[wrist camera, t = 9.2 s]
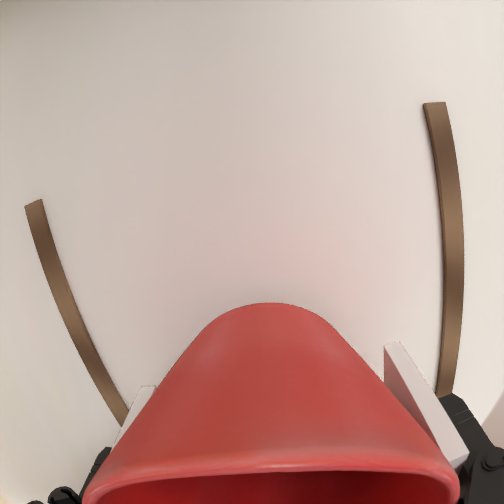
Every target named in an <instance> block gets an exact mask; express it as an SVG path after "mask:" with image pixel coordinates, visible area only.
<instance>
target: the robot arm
mask: <svg viewBox="0 0 504 504" xmlns="http://www.w3.org/2000/svg"><path fill="white" fill-rule="evenodd" d="M384 384H385V385H386V386H387V388H388V389H389V390H390V391H391V392H392V393H393V395H394V396H395V397H396V398H397V399H398V400H399V402H400V403H401V404H402V405H403V406H404V407H405V408H406V410H407V411H408V412H409V413H410V414H411V415H412V416H413V417H414V419H415V420H416V421H417V422H418V423H419V425H420V426H421V427H422V428H423V429H424V431H425V432H426V433H427V434H428V436H429V437H430V438H431V439H432V441H433V442H434V443H435V444H436V446H437V447H438V448H439V449H440V451H441V452H442V453H443V455H444V456H445V457H446V459H447V460H448V461H449V463H450V464H451V466H452V467H453V469H454V470H455V472H456V474H457V476H458V479H459V484H460V496H459V500H458V503H457V504H504V449H502V448H500V447H495V446H494V445H493V444H492V443H491V441H490V440H489V439H488V437H487V435H486V434H485V432H484V431H483V429H482V428H481V426H480V424H479V423H478V421H477V420H476V418H474V415H473V414H472V413H471V411H470V410H469V408H468V407H467V405H466V404H465V402H464V401H463V399H461V398H460V397H458V396H456V395H455V394H453V393H451V394H448V395H446V396H444V397H441V398H438V399H437V397H436V395H435V394H434V392H433V391H432V389H431V387H430V386H429V384H428V383H427V381H426V380H425V378H424V376H423V375H422V373H421V372H420V370H419V369H418V367H417V366H416V364H415V363H414V361H413V360H412V358H411V357H410V355H409V354H408V352H407V351H406V349H405V348H404V346H403V345H402V343H401V342H400V341H397V342H394V343H390V344H387V345H384ZM156 389H157V388H156V386H144V387H141V388H140V391H139V393H138V395H137V397H136V399H135V401H134V403H133V405H132V407H131V409H130V411H129V413H128V415H127V417H126V420H125V422H124V424H123V426H122V428H121V430H120V432H119V434H118V437H117V439H116V441H115V443H114V445H113V447H105V448H104V449H103V450H102V451H101V452H100V453H99V455H98V456H97V458H96V460H95V462H94V466H93V467H92V469H91V473H89V475H88V477H87V479H86V481H85V483H84V486H83V488H82V490H81V492H80V494H79V496H78V495H77V494H76V493H75V492H74V491H73V490H72V489H71V488H69V487H66V486H64V487H59V488H56V489H55V490H53V491H52V492H51V493H50V495H49V497H48V503H49V504H82V499H83V495H84V492H85V490H86V488H87V486H88V485H89V483H90V482H91V480H92V479H93V477H94V476H95V474H96V472H97V471H98V469H99V468H100V466H101V465H102V464H103V462H104V461H105V459H106V458H107V457H108V455H109V454H110V453H111V451H112V450H113V448H114V447H115V446H116V444H117V443H118V441H119V440H120V439H121V437H122V436H123V435H124V433H125V432H126V430H127V429H128V428H129V426H130V425H131V424H132V422H133V421H134V419H135V418H136V417H137V415H138V414H139V412H140V411H141V410H142V408H143V407H144V406H145V404H146V403H147V401H148V400H149V399H150V397H151V396H152V395H153V393H154V392H155V390H156ZM28 504H43V503H42V502H41V501H37V500H36V501H31V502H29V503H28Z"/></svg>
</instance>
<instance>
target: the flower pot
mask: <svg viewBox="0 0 504 504" xmlns="http://www.w3.org/2000/svg"><path fill="white" fill-rule="evenodd" d="M459 496H460V484H459V479H458V476H457V474H456V472H455V470H454V469H453V467H452V466H451V464H450V463H449V461H448V460H447V459H446V457H445V456H444V455H443V453H442V452H441V451H440V449H439V448H438V447H437V446H436V444H435V443H434V442H433V441H432V439H431V438H430V437H429V436H428V434H427V433H426V432H425V431H424V429H423V428H422V427H421V426H420V425H419V423H418V422H417V421H416V420H415V419H414V417H413V416H412V415H411V414H410V413H409V412H408V411H407V410H406V408H405V407H404V406H403V405H402V404H401V403H400V402H399V400H398V399H397V398H396V397H395V396H394V395H393V393H392V392H391V391H390V390H389V389H388V388H387V386H386V385H385V384H384V383H383V382H382V381H381V379H380V378H379V377H378V376H377V375H376V374H375V373H374V371H373V370H372V369H371V368H370V367H369V366H368V364H367V363H366V362H365V361H364V360H363V359H362V358H361V357H360V356H359V355H358V353H357V352H356V351H355V350H354V349H353V348H352V347H351V346H350V345H349V344H348V343H347V342H346V341H345V339H344V338H343V337H342V336H341V335H340V334H339V333H338V332H337V331H336V330H335V329H334V328H333V327H332V326H331V325H330V324H329V323H328V322H327V321H326V320H324V319H323V318H321V317H320V316H318V315H317V314H315V313H313V312H311V311H308V310H306V309H303V308H301V307H297V306H294V305H289V304H283V303H258V304H251V305H246V306H243V307H240V308H236V309H233V310H231V311H229V312H227V313H224V314H222V315H221V316H219V317H217V318H216V319H215V320H213V321H212V322H211V323H210V324H208V325H207V326H206V327H205V328H204V329H203V330H202V331H201V332H200V334H199V335H198V336H197V337H196V338H195V340H194V341H193V342H192V343H191V344H190V346H189V347H188V348H187V349H186V350H185V352H184V353H183V354H182V355H181V357H180V358H179V359H178V361H177V362H176V363H175V364H174V366H173V367H172V368H171V370H170V371H169V372H168V374H167V375H166V377H165V378H164V379H163V381H162V382H161V383H160V385H159V386H158V388H157V389H156V390H155V392H154V393H153V395H152V396H151V397H150V399H149V400H148V401H147V403H146V404H145V406H144V407H143V408H142V410H141V411H140V412H139V414H138V415H137V417H136V418H135V419H134V421H133V422H132V424H131V425H130V426H129V428H128V429H127V430H126V432H125V433H124V435H123V436H122V437H121V439H120V440H119V441H118V443H117V444H116V446H115V447H114V448H113V450H112V451H111V453H110V454H109V455H108V457H107V458H106V459H105V461H104V462H103V464H102V465H101V466H100V468H99V469H98V471H97V472H96V474H95V476H94V477H93V479H92V480H91V482H90V483H89V485H88V486H87V488H86V490H85V492H84V495H83V499H82V504H457V503H458V500H459Z"/></svg>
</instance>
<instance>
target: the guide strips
mask: <svg viewBox="0 0 504 504" xmlns="http://www.w3.org/2000/svg"><path fill="white" fill-rule="evenodd" d="M423 105H424V109H425V114H426V118H427V123H428V128H429V132H430V138H431V143H432V148H433V154H434V160H435V167H436V173H437V181H438V189H439V197H440V207H441V218H442V231H443V250H444V312H443V331H442V344H441V355H440V364H439V373H438V380H437V388H436V394H435V395H436V397H437V399H438V398H441V397H444V396H446V395H448V394H451V393H452V389H453V384H454V378H455V372H456V366H457V359H458V351H459V343H460V334H461V324H462V311H463V293H464V232H463V214H462V201H461V191H460V182H459V174H458V166H457V159H456V153H455V147H454V141H453V135H452V130H451V125H450V120H449V116H448V111H447V107H446V103H445V102H435V103H424V104H423ZM24 207H25V211H26V215H27V219H28V222H29V226H30V229H31V233H32V236H33V240H34V243H35V246H36V249H37V252H38V255H39V258H40V261H41V264H42V267H43V270H44V273H45V276H46V278H47V281H48V284H49V286H50V289H51V292H52V294H53V297H54V299H55V302H56V304H57V306H58V309H59V311H60V314H61V316H62V318H63V320H64V323H65V325H66V327H67V329H68V332H69V334H70V336H71V338H72V340H73V342H74V344H75V346H76V348H77V350H78V353H79V355H80V356H81V358H82V360H83V362H84V364H85V366H86V368H87V370H88V372H89V374H90V376H91V377H92V379H93V381H94V383H95V385H96V386H97V388H98V390H99V392H100V393H101V395H102V397H103V398H104V400H105V402H106V404H107V405H108V407H109V408H110V410H111V412H112V413H113V415H114V417H115V418H116V420H117V421H118V423H119V424H120V426H121V427H122V426H123V424H124V422H125V420H126V417H127V415H128V413H129V410H128V409H127V407H126V405H125V403H124V402H123V400H122V398H121V396H120V395H119V393H118V391H117V389H116V387H115V386H114V384H113V382H112V380H111V378H110V376H109V374H108V373H107V371H106V369H105V367H104V365H103V363H102V361H101V359H100V357H99V355H98V353H97V351H96V349H95V346H94V344H93V342H92V340H91V338H90V336H89V334H88V331H87V329H86V327H85V325H84V322H83V320H82V318H81V315H80V313H79V311H78V308H77V306H76V303H75V301H74V298H73V296H72V293H71V291H70V288H69V285H68V283H67V280H66V277H65V275H64V272H63V269H62V266H61V263H60V260H59V257H58V254H57V251H56V248H55V245H54V242H53V239H52V235H51V232H50V229H49V225H48V222H47V218H46V214H45V211H44V207H43V203H42V199H40V200H37V201H35V202H33V203H30V204H28V205H26V206H24Z"/></svg>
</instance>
